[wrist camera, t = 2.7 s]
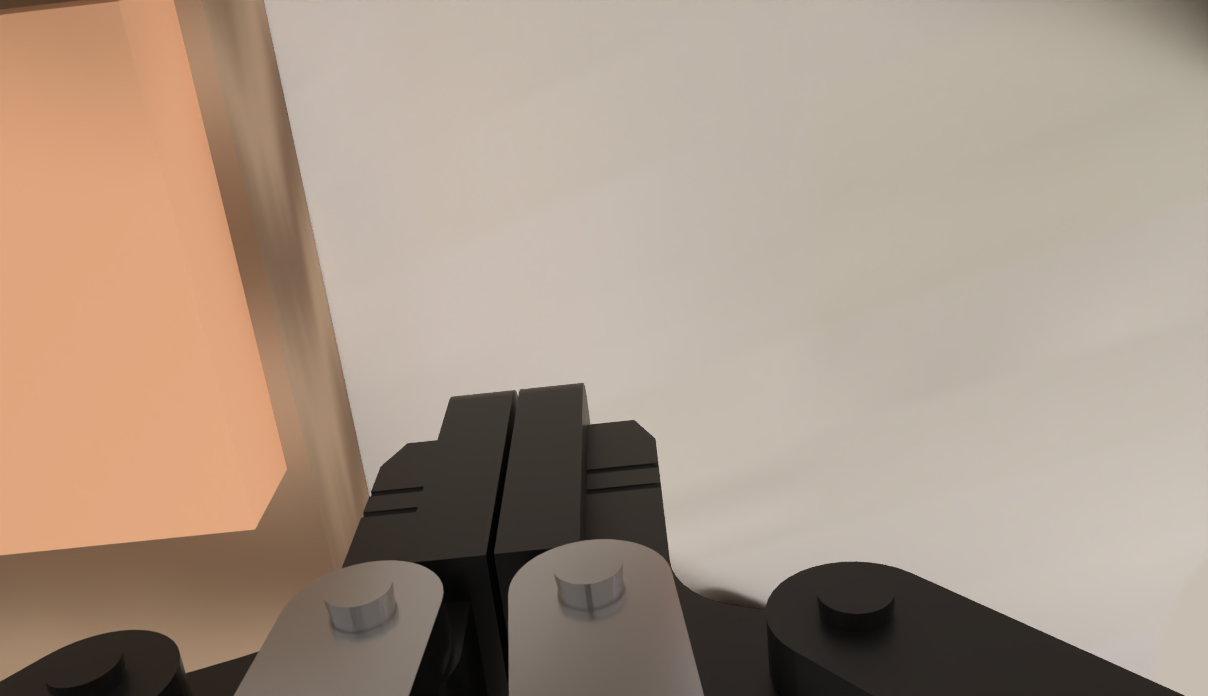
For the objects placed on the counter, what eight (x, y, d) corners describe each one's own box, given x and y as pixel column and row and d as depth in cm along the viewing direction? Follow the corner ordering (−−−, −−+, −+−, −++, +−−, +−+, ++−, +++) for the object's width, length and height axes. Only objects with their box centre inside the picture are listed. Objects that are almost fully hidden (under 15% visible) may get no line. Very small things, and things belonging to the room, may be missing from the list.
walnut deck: (-324, -342, 22) (-509, -390, 18) (177, -405, 22) (91, -468, 18) (38, 659, 31) (-38, 763, 27) (396, 624, 31) (369, 724, 27)
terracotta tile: (-200, 32, 21) (-298, 49, 19) (171, -11, 21) (117, 0, 18) (-29, 501, 25) (-93, 564, 22) (287, 469, 24) (254, 529, 22)
